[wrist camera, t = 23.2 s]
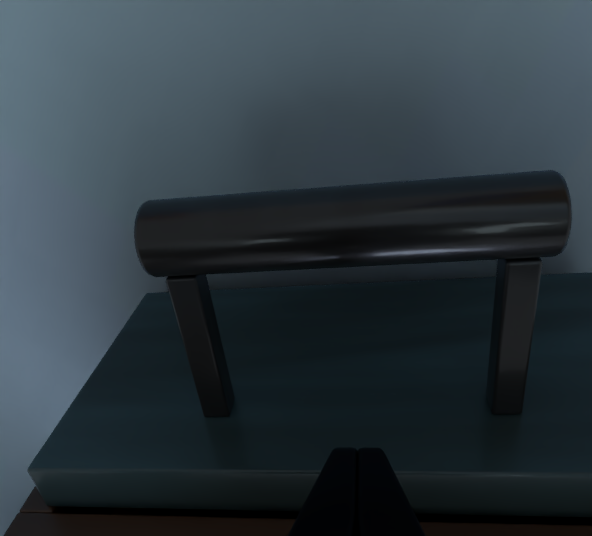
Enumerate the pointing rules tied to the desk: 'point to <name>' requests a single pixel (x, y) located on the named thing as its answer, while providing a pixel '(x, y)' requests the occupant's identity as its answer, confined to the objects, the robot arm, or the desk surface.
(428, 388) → the drawer
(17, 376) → the desk surface
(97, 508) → the cabinet
